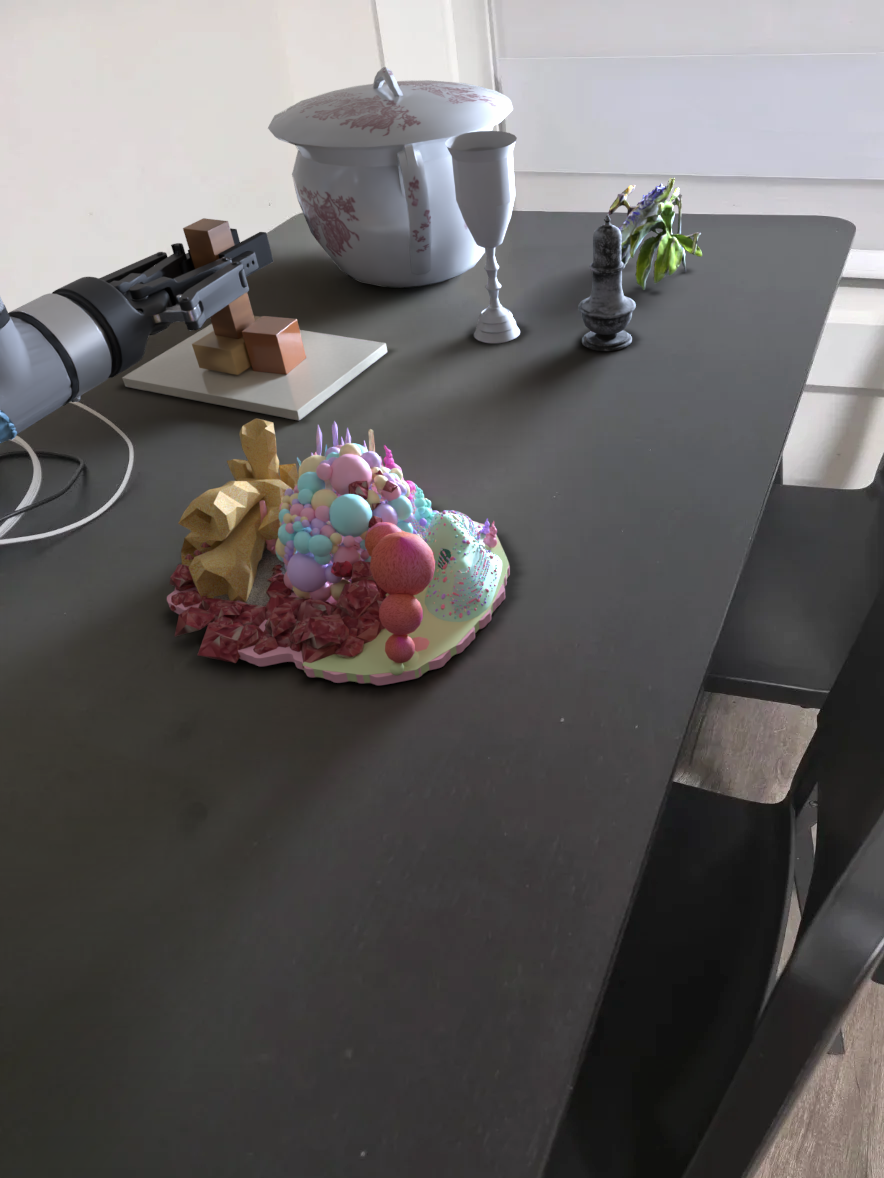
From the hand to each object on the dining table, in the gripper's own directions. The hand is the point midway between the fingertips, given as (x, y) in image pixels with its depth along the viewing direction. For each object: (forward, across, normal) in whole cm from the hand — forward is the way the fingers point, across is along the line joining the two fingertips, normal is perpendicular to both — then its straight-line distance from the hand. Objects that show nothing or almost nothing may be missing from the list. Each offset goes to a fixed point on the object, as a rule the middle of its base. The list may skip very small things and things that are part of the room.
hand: (251, 245), depth 90 cm
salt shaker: (+13, +33, -10) cm, 37 cm away
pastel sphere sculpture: (-33, +31, -10) cm, 46 cm away
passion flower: (+33, +31, -10) cm, 46 cm away
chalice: (+11, +21, -10) cm, 26 cm away
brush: (-5, 0, -9) cm, 11 cm away
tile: (-5, +2, -10) cm, 12 cm away
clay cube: (-5, +5, -9) cm, 12 cm away
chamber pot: (+25, +2, -10) cm, 27 cm away
